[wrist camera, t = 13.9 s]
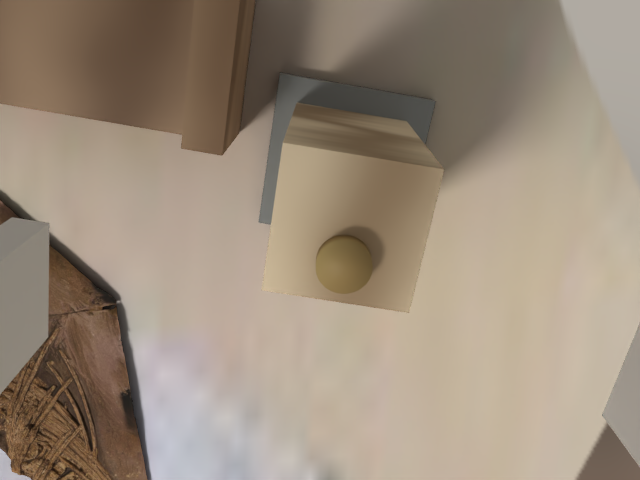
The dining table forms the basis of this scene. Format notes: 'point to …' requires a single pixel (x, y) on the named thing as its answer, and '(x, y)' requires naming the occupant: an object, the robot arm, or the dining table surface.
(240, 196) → the dining table surface
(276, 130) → the mat
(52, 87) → the plank
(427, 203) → the cream tall block
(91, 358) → the wooden fragment
